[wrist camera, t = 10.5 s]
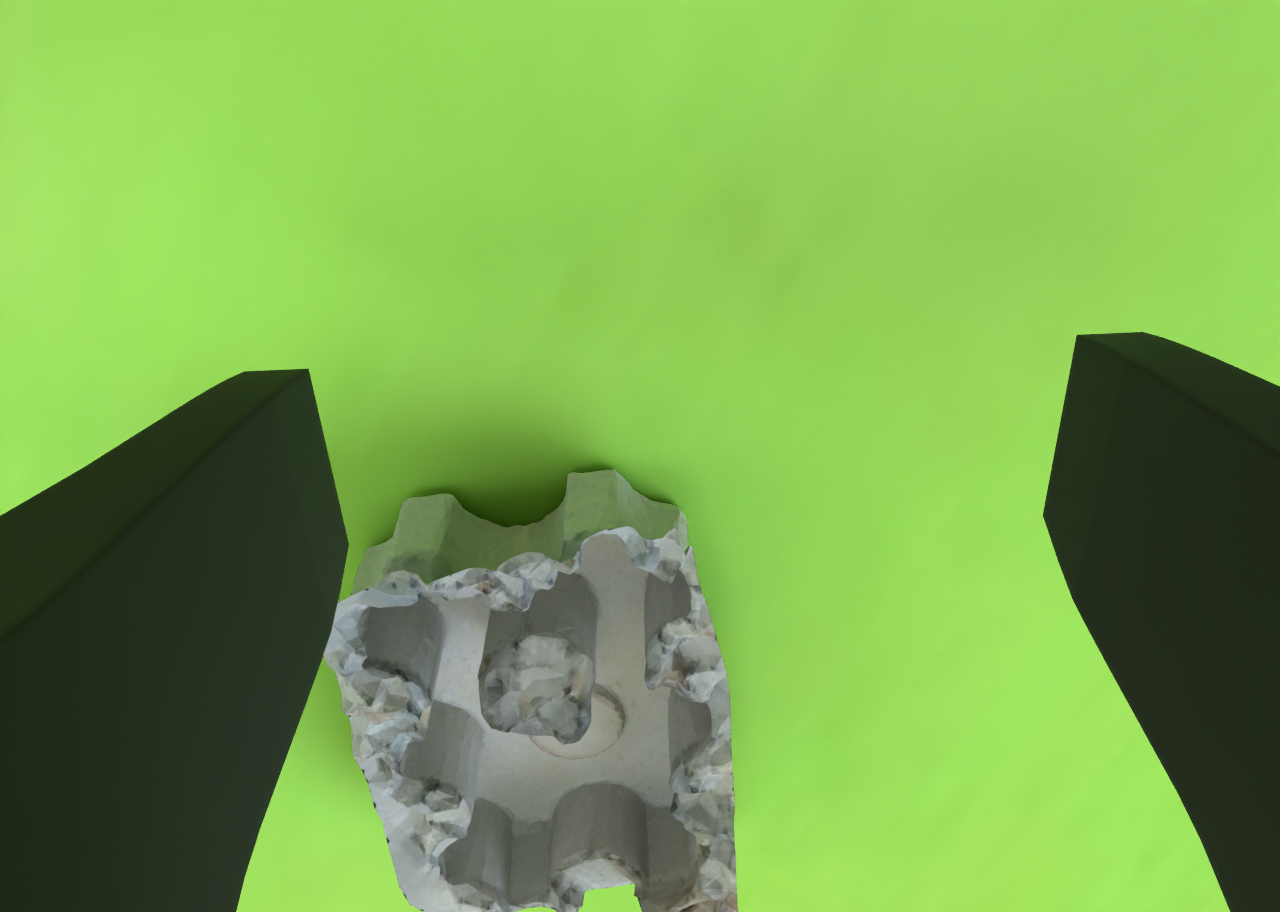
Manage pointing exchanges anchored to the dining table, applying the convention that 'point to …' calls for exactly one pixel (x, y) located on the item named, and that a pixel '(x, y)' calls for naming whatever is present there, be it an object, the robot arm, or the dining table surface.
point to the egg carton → (542, 706)
